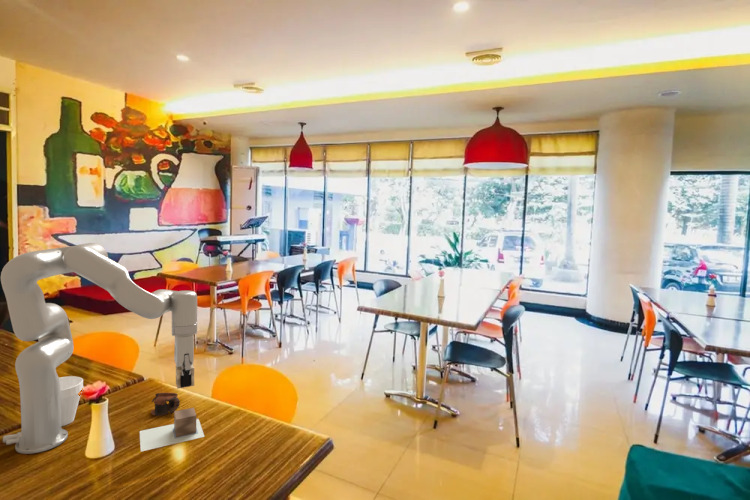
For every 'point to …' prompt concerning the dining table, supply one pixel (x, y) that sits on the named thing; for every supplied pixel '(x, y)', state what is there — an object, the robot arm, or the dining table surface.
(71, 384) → the cup
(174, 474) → the dining table surface
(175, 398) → the pottery mug
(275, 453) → the dining table surface
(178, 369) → the maple block
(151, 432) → the white rectangular board
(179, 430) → the walnut cube
